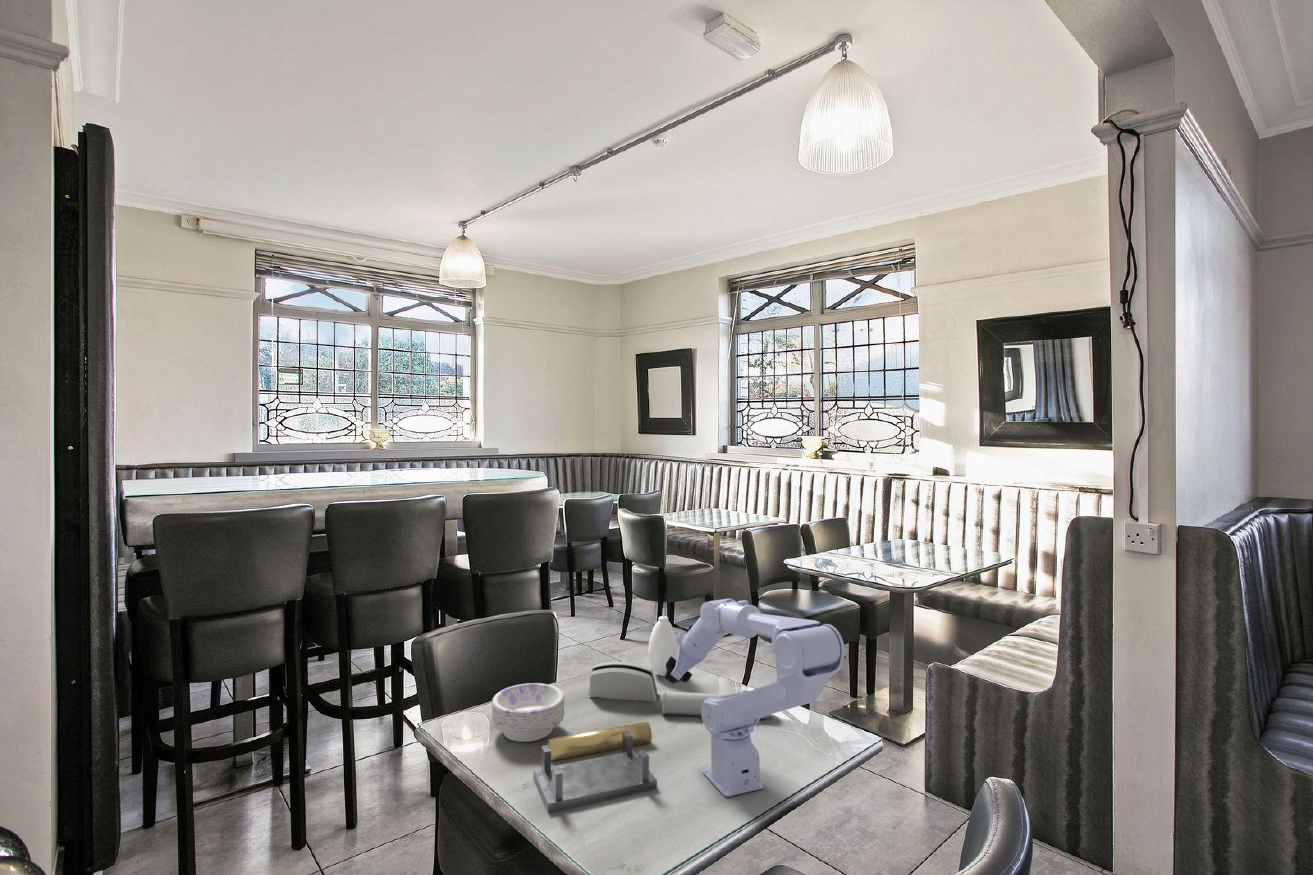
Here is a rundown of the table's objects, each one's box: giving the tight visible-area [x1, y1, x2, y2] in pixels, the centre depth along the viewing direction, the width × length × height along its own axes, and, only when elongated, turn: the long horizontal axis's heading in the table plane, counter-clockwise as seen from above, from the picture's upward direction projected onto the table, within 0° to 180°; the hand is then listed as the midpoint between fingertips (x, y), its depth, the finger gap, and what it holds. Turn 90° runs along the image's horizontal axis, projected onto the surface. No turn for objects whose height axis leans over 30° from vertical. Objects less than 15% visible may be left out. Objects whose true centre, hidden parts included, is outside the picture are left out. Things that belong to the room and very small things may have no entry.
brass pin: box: [546, 721, 653, 762], centre depth 135 cm, size 21×4×4 cm, turn 113°
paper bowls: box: [491, 682, 565, 743], centre depth 142 cm, size 15×15×8 cm
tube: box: [661, 690, 772, 720], centre depth 152 cm, size 5×5×25 cm
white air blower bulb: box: [648, 607, 679, 677], centre depth 176 cm, size 8×8×18 cm
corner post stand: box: [532, 731, 658, 813], centre depth 122 cm, size 12×20×6 cm, turn 113°
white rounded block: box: [588, 661, 658, 702], centre depth 161 cm, size 17×5×10 cm, turn 81°
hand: (677, 666), depth 142 cm, fingers open, 7 cm apart
